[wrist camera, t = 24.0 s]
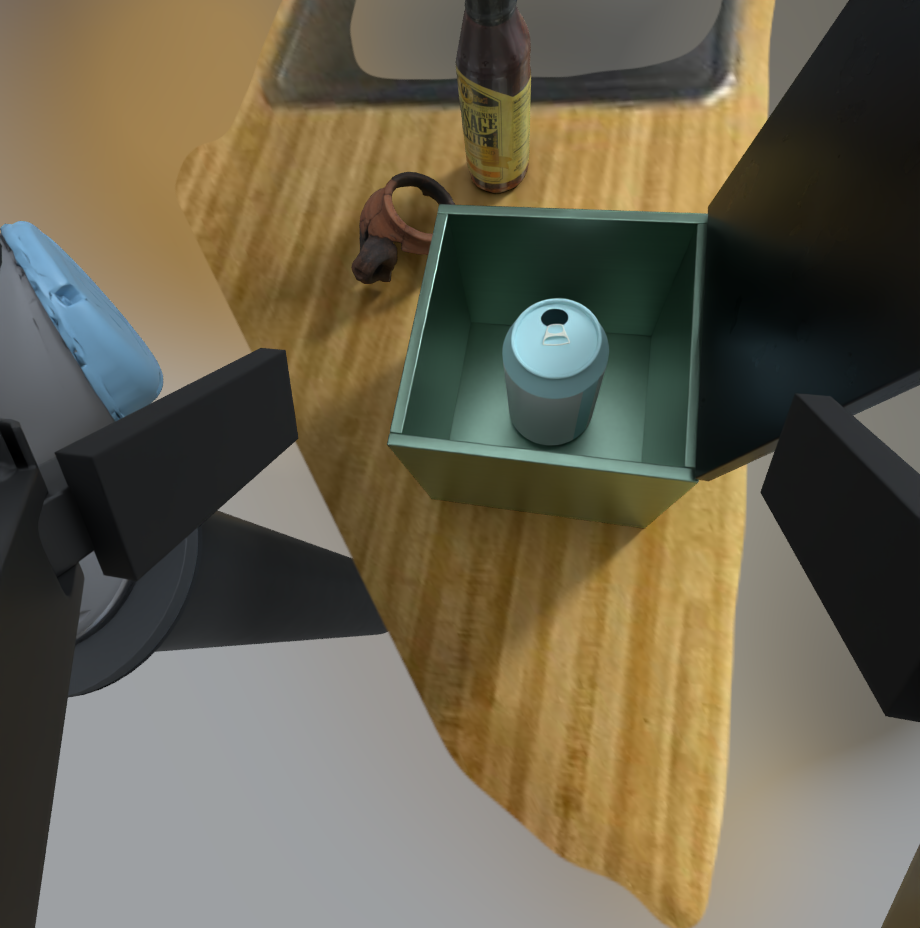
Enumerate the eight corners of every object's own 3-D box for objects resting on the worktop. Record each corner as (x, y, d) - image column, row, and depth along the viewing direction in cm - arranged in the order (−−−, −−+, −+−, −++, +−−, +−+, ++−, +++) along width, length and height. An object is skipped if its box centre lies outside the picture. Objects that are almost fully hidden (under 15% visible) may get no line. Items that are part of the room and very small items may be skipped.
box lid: (1168, 247, 10) (1210, 254, 10) (1042, -287, 14) (1071, -282, 14) (694, 479, 27) (709, 481, 27) (707, 206, 32) (720, 208, 32)
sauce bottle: (457, 172, 54) (417, -67, 36) (505, 139, 55) (490, -114, 36) (494, 209, 52) (473, -22, 34) (544, 175, 53) (550, -73, 34)
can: (492, 404, 45) (478, 332, 34) (555, 356, 46) (562, 269, 34) (544, 464, 43) (548, 408, 32) (610, 413, 44) (636, 340, 32)
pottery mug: (380, 208, 55) (403, 144, 48) (452, 264, 57) (485, 211, 49) (316, 278, 50) (331, 218, 42) (398, 338, 51) (426, 290, 44)
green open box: (431, 499, 44) (386, 444, 31) (465, 319, 49) (439, 203, 36) (645, 528, 41) (698, 482, 28) (659, 333, 46) (711, 213, 32)
